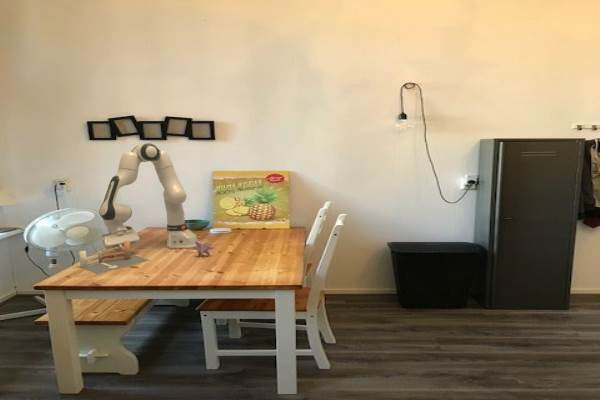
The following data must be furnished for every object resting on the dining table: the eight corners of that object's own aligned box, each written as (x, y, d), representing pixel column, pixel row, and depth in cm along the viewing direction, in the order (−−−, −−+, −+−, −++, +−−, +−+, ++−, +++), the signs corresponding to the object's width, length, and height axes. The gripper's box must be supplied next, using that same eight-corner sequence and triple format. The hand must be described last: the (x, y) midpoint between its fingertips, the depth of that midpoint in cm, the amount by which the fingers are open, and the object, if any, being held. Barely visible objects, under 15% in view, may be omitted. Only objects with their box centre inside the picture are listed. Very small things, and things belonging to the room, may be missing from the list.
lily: (217, 258, 224) (216, 242, 228) (202, 255, 214) (202, 238, 218) (202, 262, 229) (201, 246, 233) (187, 259, 220) (187, 243, 223)
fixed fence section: (103, 262, 213) (102, 248, 212) (82, 267, 204) (80, 252, 203) (101, 261, 215) (99, 247, 214) (79, 266, 206) (78, 251, 205)
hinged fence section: (131, 258, 220) (129, 241, 218) (103, 262, 213) (101, 244, 212) (130, 257, 222) (129, 240, 221) (103, 260, 216) (101, 243, 214)
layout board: (150, 260, 217) (150, 259, 217) (97, 274, 194) (97, 273, 194) (130, 255, 230) (130, 254, 230) (78, 267, 207) (78, 266, 207)
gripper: (100, 232, 217) (109, 251, 212) (135, 226, 232) (144, 244, 227) (98, 238, 220) (106, 257, 215) (132, 232, 236) (141, 250, 231)
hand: (126, 250), depth 222 cm, fingers closed, pressing on hinged fence section
